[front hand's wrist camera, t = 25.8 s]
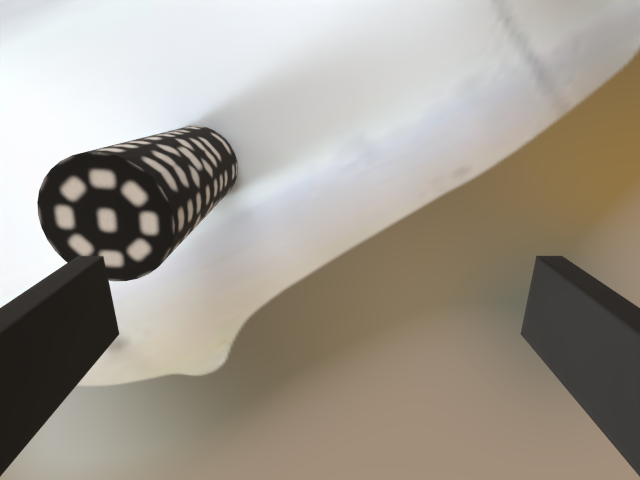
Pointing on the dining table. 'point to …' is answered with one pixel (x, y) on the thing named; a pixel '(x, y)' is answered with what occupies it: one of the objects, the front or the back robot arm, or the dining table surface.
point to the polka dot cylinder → (135, 198)
